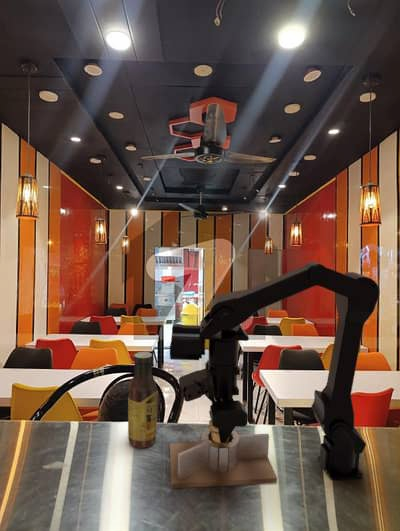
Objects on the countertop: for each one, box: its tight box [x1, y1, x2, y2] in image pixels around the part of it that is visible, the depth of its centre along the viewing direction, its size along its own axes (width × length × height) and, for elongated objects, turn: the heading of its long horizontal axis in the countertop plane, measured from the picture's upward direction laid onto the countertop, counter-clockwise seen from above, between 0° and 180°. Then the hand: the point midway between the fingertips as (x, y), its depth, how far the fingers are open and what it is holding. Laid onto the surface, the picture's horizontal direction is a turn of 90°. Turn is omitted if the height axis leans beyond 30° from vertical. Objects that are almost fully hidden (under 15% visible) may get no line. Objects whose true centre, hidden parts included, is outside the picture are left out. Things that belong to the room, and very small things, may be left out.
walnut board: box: [169, 441, 278, 490], centre depth 74 cm, size 20×12×1 cm, turn 96°
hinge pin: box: [208, 419, 229, 445], centre depth 73 cm, size 5×5×8 cm
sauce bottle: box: [127, 351, 158, 449], centre depth 80 cm, size 7×6×20 cm
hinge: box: [178, 427, 270, 480], centre depth 72 cm, size 19×9×5 cm, turn 96°
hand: (220, 434), depth 73 cm, fingers open, 5 cm apart
